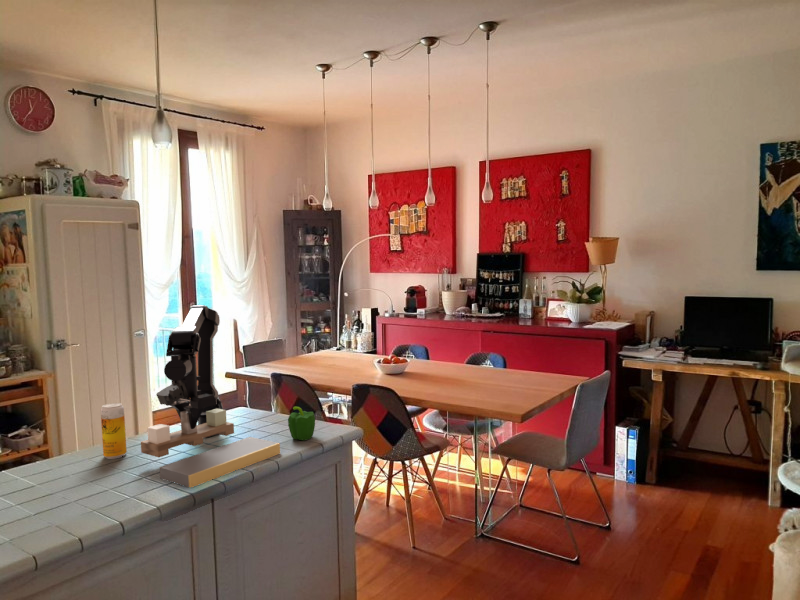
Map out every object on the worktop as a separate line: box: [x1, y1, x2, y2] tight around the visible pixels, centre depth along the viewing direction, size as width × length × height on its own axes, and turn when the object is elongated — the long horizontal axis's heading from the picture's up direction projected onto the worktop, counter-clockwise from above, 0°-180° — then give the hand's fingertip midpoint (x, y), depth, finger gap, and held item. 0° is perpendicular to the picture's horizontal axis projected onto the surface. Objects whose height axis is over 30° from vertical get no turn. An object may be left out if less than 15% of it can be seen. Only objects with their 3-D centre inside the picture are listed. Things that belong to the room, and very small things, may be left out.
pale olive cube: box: [206, 408, 228, 427], centre depth 179 cm, size 4×4×4 cm
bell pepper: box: [287, 406, 316, 441], centre depth 186 cm, size 8×8×10 cm
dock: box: [159, 436, 281, 489], centre depth 163 cm, size 13×30×3 cm, turn 145°
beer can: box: [100, 402, 128, 460], centre depth 174 cm, size 6×6×15 cm
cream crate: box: [147, 423, 171, 444], centre depth 163 cm, size 4×4×4 cm
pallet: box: [140, 410, 235, 458], centre depth 171 cm, size 8×25×9 cm, turn 145°
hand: (189, 428), depth 171 cm, fingers closed on pallet, 3 cm apart
